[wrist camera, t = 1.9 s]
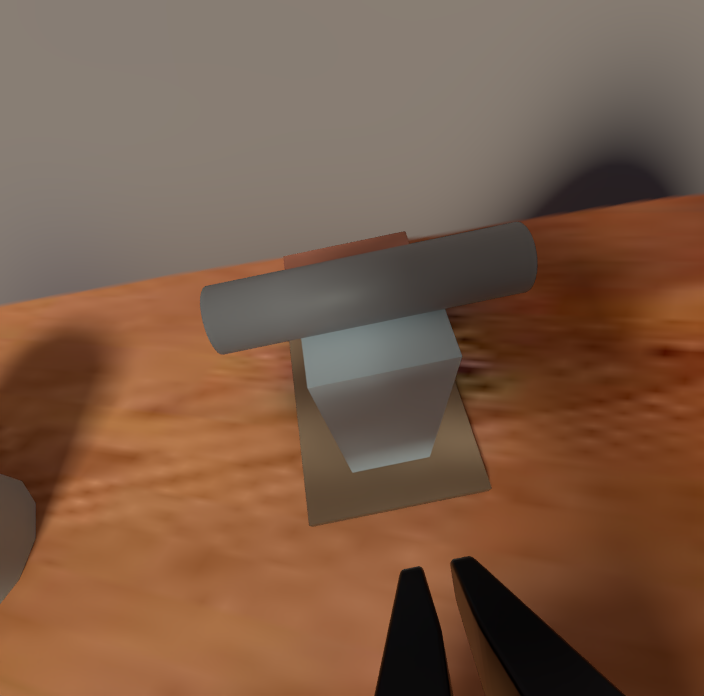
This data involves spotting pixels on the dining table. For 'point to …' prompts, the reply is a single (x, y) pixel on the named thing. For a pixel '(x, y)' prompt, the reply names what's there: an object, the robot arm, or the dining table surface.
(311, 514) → the tan base plate
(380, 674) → the robot arm
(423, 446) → the grey t-shaped piece
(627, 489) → the dining table surface
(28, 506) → the cup
